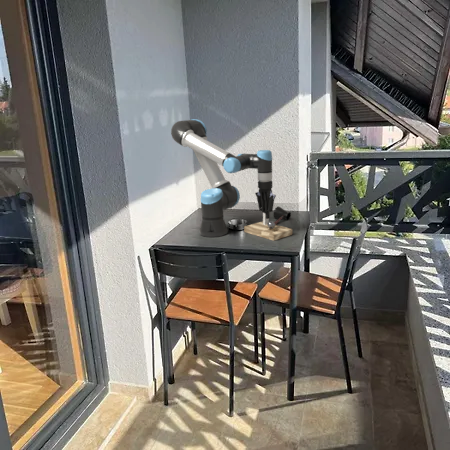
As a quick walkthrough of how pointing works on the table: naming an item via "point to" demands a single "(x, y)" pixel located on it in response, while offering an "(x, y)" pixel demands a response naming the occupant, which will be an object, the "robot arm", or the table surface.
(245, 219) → the table surface
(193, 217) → the table surface
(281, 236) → the wooden board
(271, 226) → the steel ball
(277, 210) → the coffee pot
